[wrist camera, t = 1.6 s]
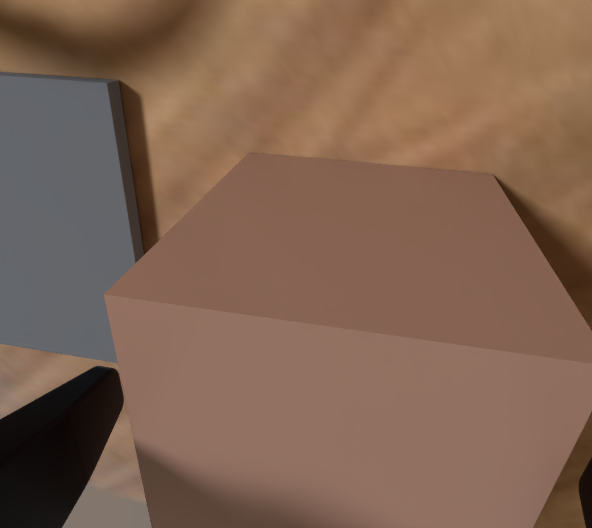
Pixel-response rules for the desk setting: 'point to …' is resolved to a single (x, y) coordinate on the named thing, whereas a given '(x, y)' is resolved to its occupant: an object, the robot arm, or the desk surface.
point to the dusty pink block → (349, 353)
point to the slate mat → (63, 212)
